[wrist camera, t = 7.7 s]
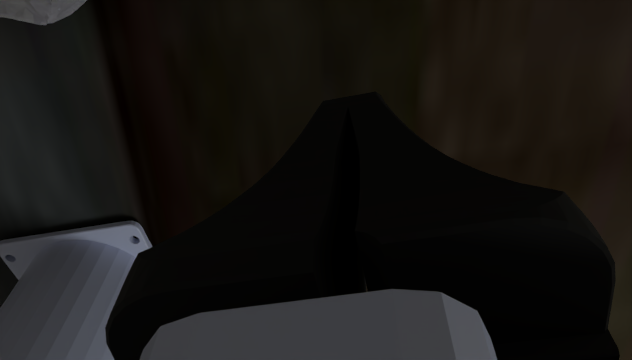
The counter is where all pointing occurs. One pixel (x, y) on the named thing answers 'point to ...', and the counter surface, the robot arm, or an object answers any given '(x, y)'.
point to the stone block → (38, 10)
